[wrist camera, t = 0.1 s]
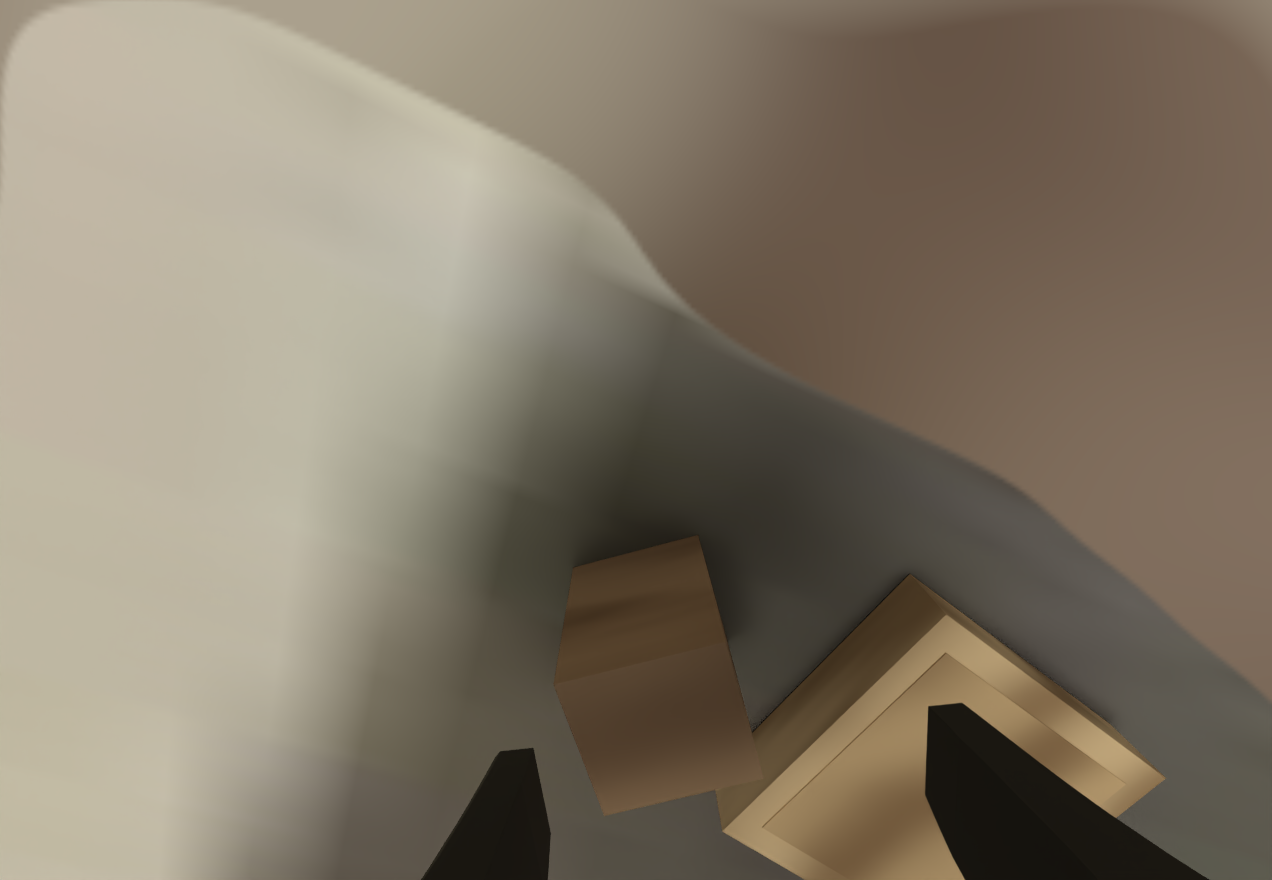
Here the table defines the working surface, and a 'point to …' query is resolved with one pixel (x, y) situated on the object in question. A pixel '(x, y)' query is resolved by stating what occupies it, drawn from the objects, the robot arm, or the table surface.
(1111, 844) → the robot arm
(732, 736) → the walnut block
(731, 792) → the oak plinth
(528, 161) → the table surface
